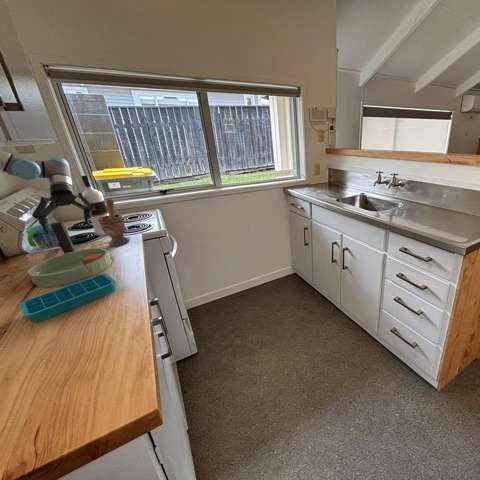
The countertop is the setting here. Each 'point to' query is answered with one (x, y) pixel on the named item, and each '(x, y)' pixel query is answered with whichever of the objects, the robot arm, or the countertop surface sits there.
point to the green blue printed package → (42, 237)
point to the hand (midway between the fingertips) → (67, 227)
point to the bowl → (68, 268)
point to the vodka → (95, 205)
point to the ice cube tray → (67, 297)
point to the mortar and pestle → (113, 225)
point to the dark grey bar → (63, 237)
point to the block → (91, 258)
